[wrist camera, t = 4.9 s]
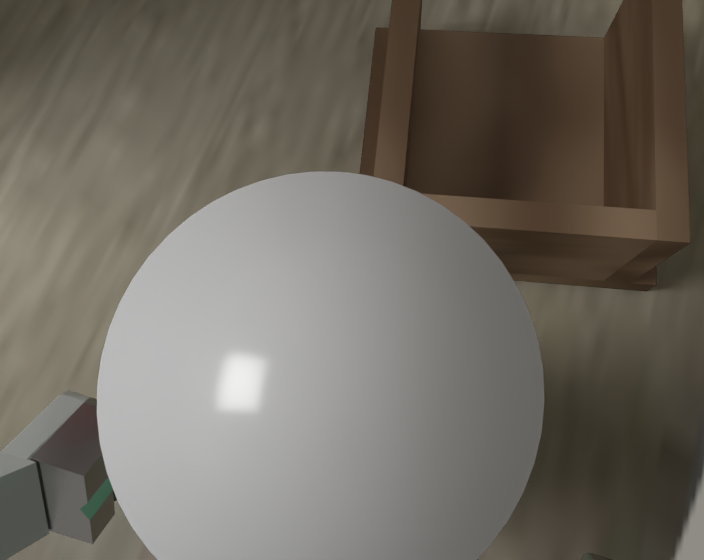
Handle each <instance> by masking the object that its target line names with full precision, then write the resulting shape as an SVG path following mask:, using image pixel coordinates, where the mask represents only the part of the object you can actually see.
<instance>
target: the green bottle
mask: <svg viewBox="0 0 704 560" xmlns="http://www.w3.org/2000/svg"><path fill="white" fill-rule="evenodd" d="M544 402H545V399H544V374H543V366H542V360H541V354H540V348H539V342H538V338H537V335H536V332H535V329H534V326H533V322H532V319H531V316H530V313H529V311H528V308H527V306H526V304H525V302H524V300H523V298H522V295H521V293H520V291H519V289H518V287H517V285H516V283H515V282H514V280H513V279H512V277H511V275H510V274H509V272H508V271H507V269H506V267H505V266H504V264H503V263H502V261H501V260H500V259H499V258H498V256H497V255H496V254H495V253H494V252H493V250H492V249H491V248H490V247H489V245H488V244H487V243H486V242H485V241H484V239H482V238H481V237H480V236H479V235H478V234H477V233H476V232H475V231H474V230H473V229H472V228H471V227H470V226H469V225H467V224H466V223H465V222H464V221H463V220H462V219H460V218H459V217H458V216H456V215H455V214H453V213H452V212H451V211H449V210H448V209H447V208H445V207H444V206H442V205H441V204H439V203H437V202H435V201H434V200H432V199H430V198H428V197H426V196H424V195H423V194H421V193H419V192H417V191H415V190H412V189H409V188H407V187H404V186H402V185H399V184H397V183H394V182H391V181H387V180H384V179H380V178H376V177H372V176H368V175H362V174H354V173H346V172H304V173H296V174H287V175H283V176H278V177H274V178H270V179H266V180H262V181H259V182H256V183H253V184H251V185H248V186H245V187H242V188H240V189H237V190H235V191H233V192H231V193H229V194H227V195H225V196H223V197H221V198H219V199H217V200H215V201H213V202H211V203H210V204H208V205H207V206H205V207H204V208H202V209H201V210H199V211H198V212H196V213H195V214H193V215H192V216H190V217H189V218H188V219H187V220H185V221H184V222H183V223H182V224H181V225H180V226H178V227H177V228H176V229H175V230H174V231H173V232H171V233H170V234H169V235H168V236H167V237H166V238H165V239H164V240H163V241H162V243H161V244H160V245H159V246H158V247H157V248H156V249H155V250H154V251H153V252H152V253H151V255H150V256H149V257H148V258H147V260H146V261H145V263H144V264H143V265H142V267H141V268H140V269H139V271H138V272H137V274H136V275H135V276H134V278H133V279H132V281H131V283H130V285H129V287H128V288H127V290H126V292H125V294H124V296H123V298H122V299H121V301H120V303H119V305H118V308H117V310H116V313H115V315H114V318H113V320H112V323H111V325H110V328H109V330H108V334H107V338H106V341H105V345H104V349H103V352H102V356H101V363H100V370H99V376H98V383H97V422H98V432H99V441H100V447H101V451H102V455H103V459H104V463H105V467H106V472H107V475H108V477H109V480H110V482H111V485H112V488H113V490H114V493H115V495H116V498H117V501H118V502H119V504H120V506H121V508H122V510H123V512H124V513H125V515H126V517H127V519H128V521H129V523H130V524H131V526H132V528H133V529H134V531H135V532H136V533H137V535H138V536H139V537H140V539H141V540H142V541H143V543H144V544H145V545H146V547H147V548H148V549H149V551H150V552H151V553H152V554H153V555H154V556H155V557H156V558H157V559H158V560H477V559H478V558H479V557H480V556H481V555H482V554H483V553H484V552H485V551H486V550H487V548H488V547H489V546H490V545H491V543H492V542H493V541H494V539H495V538H496V537H497V535H498V534H499V533H500V531H501V530H502V529H503V527H504V526H505V524H506V523H507V522H508V520H509V518H510V516H511V515H512V513H513V511H514V509H515V507H516V505H517V504H518V502H519V500H520V498H521V496H522V494H523V492H524V490H525V487H526V484H527V482H528V479H529V476H530V474H531V471H532V468H533V466H534V463H535V459H536V455H537V450H538V446H539V442H540V437H541V433H542V424H543V413H544Z"/></svg>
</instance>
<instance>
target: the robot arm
mask: <svg viewBox="0 0 704 560" xmlns="http://www.w3.org/2000/svg"><path fill="white" fill-rule="evenodd" d="M116 500H117V498H116V495H115V493H114V490H113V488H112V485H111V482H110V480H109V477H108V475H107V472H106V467H105V463H104V459H103V455H102V451H101V447H100V441H99V432H98V422H97V399H95V398H91V397H88V396H85V395H82V394H79V393H76V392H73V391H70V390H69V391H66V392H64V393H62V394H60V395H59V396H58V397H57V398H55V399H54V400H53V401H52V402H51V403H50V404H49V405H48V406H47V407H46V408H45V409H44V410H43V411H42V412H41V413H40V414H39V415H38V416H37V417H36V418H35V419H34V420H33V421H32V422H31V423H30V424H29V425H28V426H27V427H26V428H25V429H23V430H22V431H21V432H20V433H19V434H18V435H17V436H16V437H15V438H14V439H13V440H12V441H11V442H10V443H9V444H8V445H7V446H6V447H5V448H4V449H3V450H0V560H6V559H8V558H9V557H11V556H13V555H14V554H16V553H18V552H19V551H21V550H23V549H24V548H26V547H28V546H29V545H31V544H33V543H34V542H36V541H38V540H39V539H41V538H43V537H44V536H46V535H48V534H49V531H52V532H55V533H59V534H62V535H65V536H68V537H71V538H75V539H78V540H81V541H84V542H87V543H90V544H93V543H94V542H95V540H96V539H97V538H98V536H99V535H100V533H101V532H102V531H103V529H104V528H105V527H106V525H107V524H108V522H109V521H110V520H111V518H112V517H113V516H114V514H115V510H114V501H116ZM581 560H613V559H609V558H606V557H603V556H599V555H596V554H593V553H589V552H588V553H586V554H584V555H583V556H582V558H581Z"/></svg>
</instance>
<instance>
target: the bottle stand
mask: <svg viewBox="0 0 704 560" xmlns="http://www.w3.org/2000/svg"><path fill="white" fill-rule="evenodd" d="M421 9H422V0H392V6H391V16H390V25H389V28H376V31H375V40H374V49H373V58H372V67H371V76H370V85H369V94H368V103H367V112H366V121H365V130H364V139H363V148H362V157H361V166H360V174H362V175H368V176H372V177H376V178H380V179H384V180H387V181H391V182H394V183H397V184H399V185H402V186H404V187H407V188H409V189H412V190H415V191H417V192H419V193H421V194H423V195H424V196H426V197H428V198H430V199H432V200H434V201H435V202H437V203H439V204H441V205H442V206H444V207H445V208H447V209H448V210H449V211H451V212H452V213H453V214H455V215H456V216H458V217H459V218H460V219H462V220H463V221H464V222H465V223H466V224H467V225H469V226H470V227H471V228H472V229H473V230H474V231H475V232H476V233H477V234H478V235H479V236H480V237H481V238H482V239H484V241H485V242H486V243H487V244H488V245H489V247H490V248H491V249H492V250H493V252H494V253H495V254H496V255H497V256H498V258H499V259H500V260H501V261H502V263H503V264H504V266H505V267H506V269H507V271H508V272H509V274H510V275H511V277H512V279H513V280H517V281H529V282H542V283H554V284H566V285H578V286H590V287H602V288H614V289H626V290H638V291H647V290H649V289H651V288H653V287H654V286H656V285H657V279H656V265H658V264H659V263H661V262H662V261H664V260H665V259H667V258H668V257H670V256H671V255H673V254H674V253H676V252H677V251H679V250H680V249H682V248H683V247H685V246H686V245H688V244H689V243H691V242H690V213H689V184H688V156H687V127H686V98H685V70H684V41H683V12H682V0H623V2H622V4H621V6H620V8H619V10H618V12H617V14H616V16H615V18H614V20H613V22H612V23H611V25H610V27H609V29H608V31H607V33H606V35H605V37H604V38H599V37H577V36H554V35H532V34H509V33H487V32H464V31H442V30H420V25H421Z"/></svg>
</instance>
